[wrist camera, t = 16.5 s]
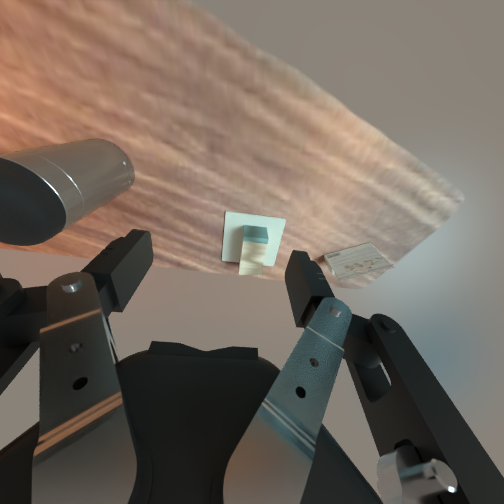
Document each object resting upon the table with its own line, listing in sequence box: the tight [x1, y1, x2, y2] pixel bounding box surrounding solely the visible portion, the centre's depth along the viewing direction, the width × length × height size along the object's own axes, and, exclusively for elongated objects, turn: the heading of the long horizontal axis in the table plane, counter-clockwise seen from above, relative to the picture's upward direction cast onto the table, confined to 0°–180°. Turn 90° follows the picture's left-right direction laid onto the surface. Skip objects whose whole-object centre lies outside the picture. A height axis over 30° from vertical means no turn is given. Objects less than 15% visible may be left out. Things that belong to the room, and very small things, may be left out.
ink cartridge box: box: [324, 242, 394, 282], centre depth 45 cm, size 2×11×10 cm, turn 109°
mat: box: [222, 211, 286, 266], centre depth 46 cm, size 13×13×1 cm
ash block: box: [239, 225, 269, 276], centre depth 45 cm, size 5×5×10 cm
